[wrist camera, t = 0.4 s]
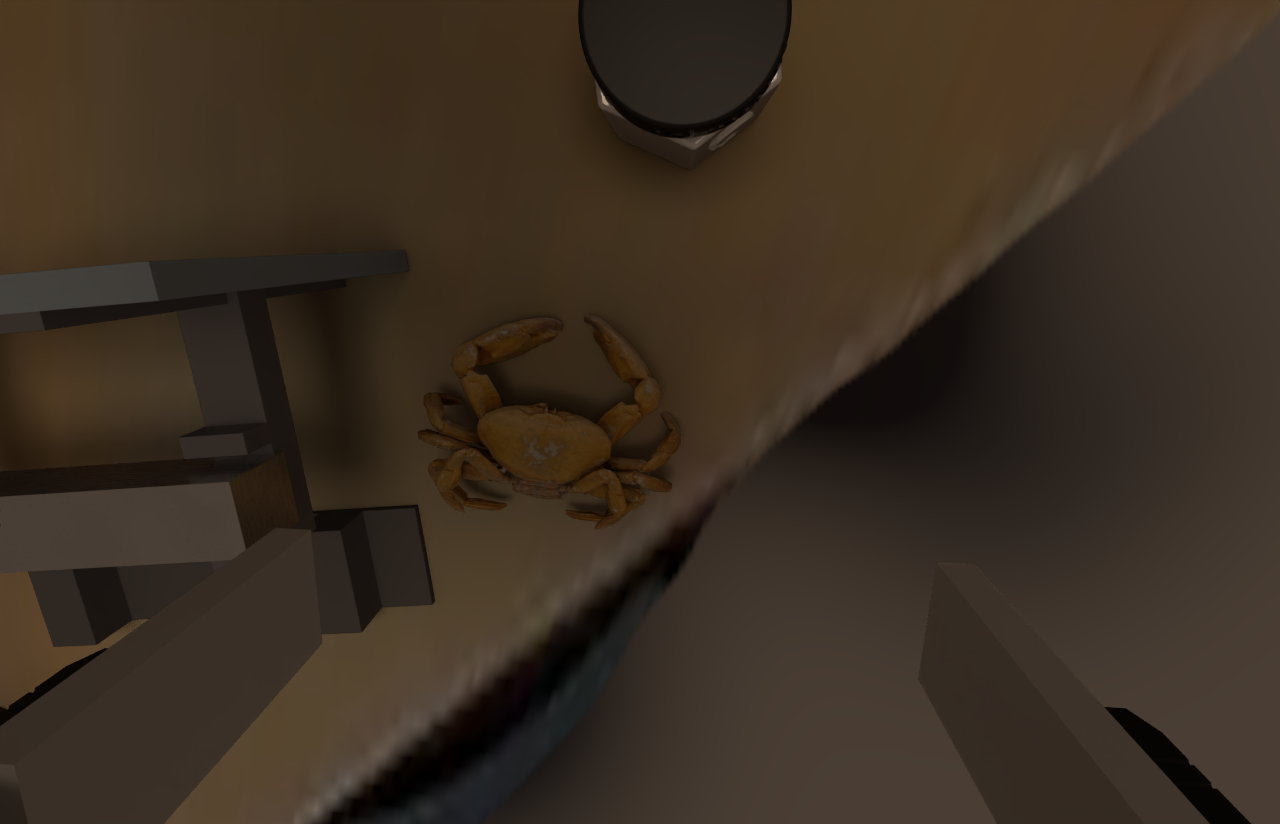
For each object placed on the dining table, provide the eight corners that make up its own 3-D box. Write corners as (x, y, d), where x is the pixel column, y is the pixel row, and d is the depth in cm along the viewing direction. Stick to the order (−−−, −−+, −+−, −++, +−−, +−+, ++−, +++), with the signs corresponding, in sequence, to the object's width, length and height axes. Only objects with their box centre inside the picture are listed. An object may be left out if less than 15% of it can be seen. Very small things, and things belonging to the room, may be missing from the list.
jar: (661, 199, 38) (653, 181, 27) (573, 75, 37) (525, 1, 25) (793, 95, 37) (846, 29, 25) (706, -39, 35) (719, -174, 24)
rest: (21, 529, 46) (-31, 552, 43) (417, 505, 44) (395, 527, 41) (52, 620, 48) (4, 649, 44) (434, 600, 46) (415, 629, 42)
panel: (-88, 294, 42) (-731, 342, 23) (405, 250, 40) (148, 261, 21) (-16, 500, 46) (-525, 692, 26) (441, 470, 43) (251, 657, 24)
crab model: (694, 324, 40) (698, 336, 35) (668, 520, 44) (667, 558, 38) (440, 293, 41) (405, 301, 35) (432, 490, 44) (399, 524, 39)
